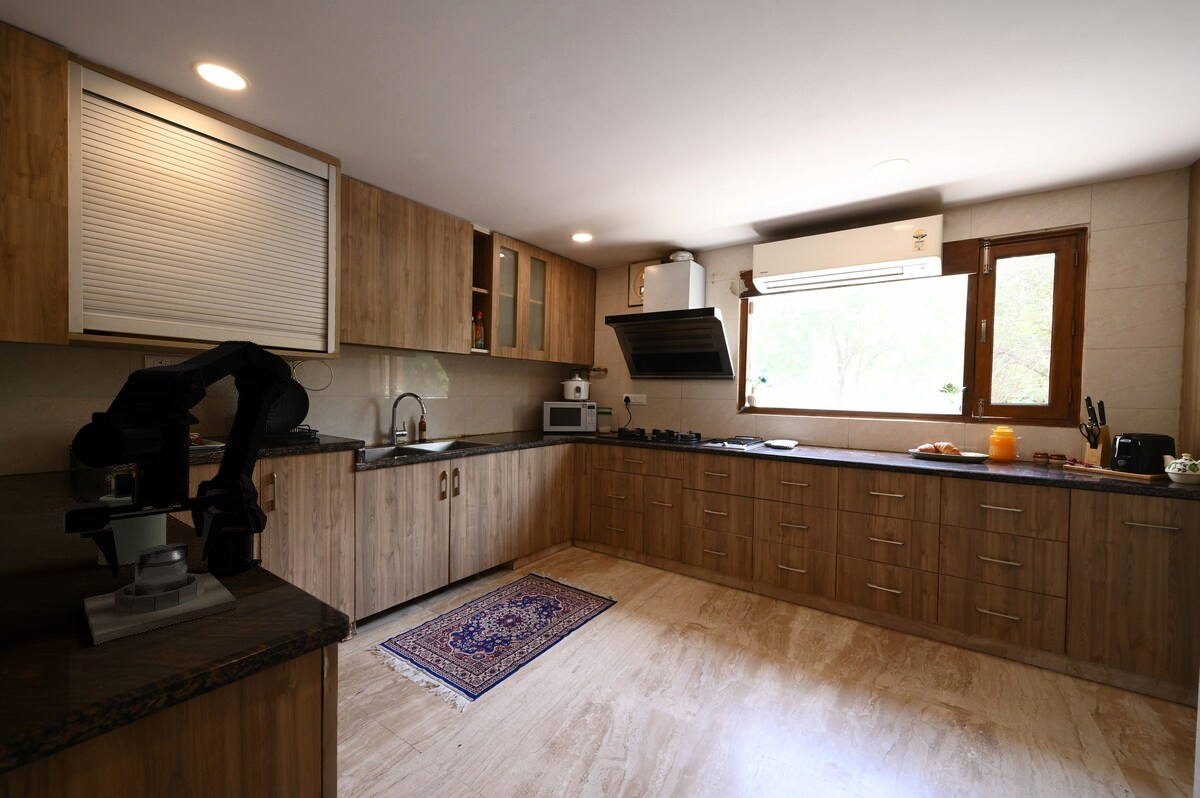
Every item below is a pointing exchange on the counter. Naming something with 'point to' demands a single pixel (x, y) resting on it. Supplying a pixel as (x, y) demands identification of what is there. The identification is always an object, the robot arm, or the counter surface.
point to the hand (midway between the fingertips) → (161, 568)
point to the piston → (160, 569)
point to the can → (134, 532)
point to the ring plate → (155, 607)
